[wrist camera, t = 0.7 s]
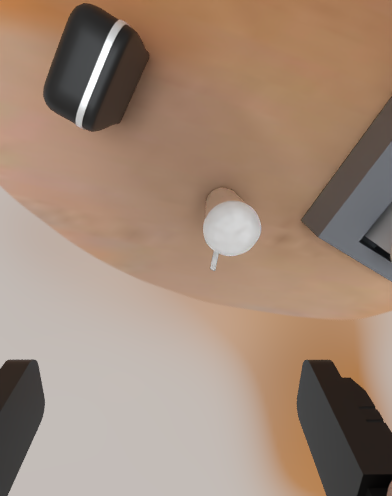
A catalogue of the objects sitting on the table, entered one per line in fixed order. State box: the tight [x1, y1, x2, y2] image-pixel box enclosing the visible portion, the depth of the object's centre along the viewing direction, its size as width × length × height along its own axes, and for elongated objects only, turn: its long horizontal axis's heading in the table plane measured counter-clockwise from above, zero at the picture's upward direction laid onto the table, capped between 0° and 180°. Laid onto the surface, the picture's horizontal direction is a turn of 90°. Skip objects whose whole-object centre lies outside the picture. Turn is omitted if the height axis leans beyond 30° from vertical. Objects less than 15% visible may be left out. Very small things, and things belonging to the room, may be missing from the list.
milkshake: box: [203, 187, 261, 271], centre depth 31 cm, size 5×5×10 cm
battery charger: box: [43, 3, 149, 132], centre depth 25 cm, size 7×4×11 cm, turn 151°
